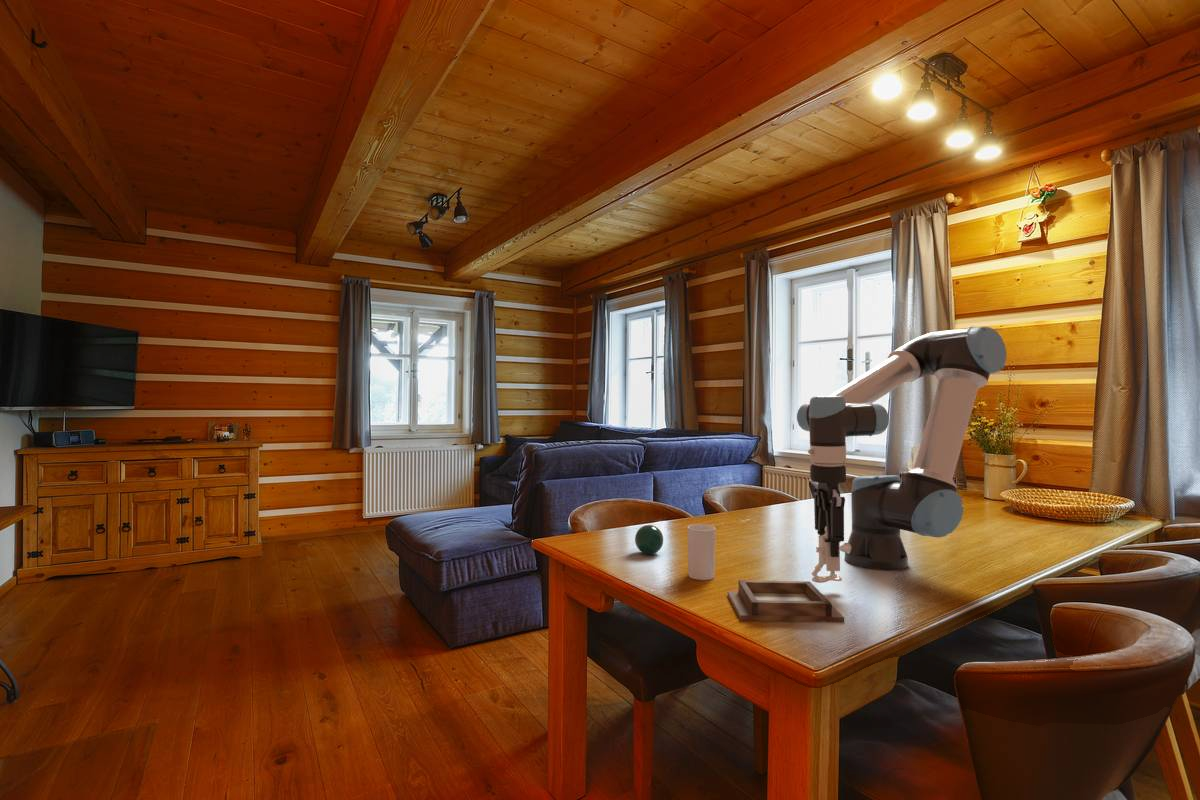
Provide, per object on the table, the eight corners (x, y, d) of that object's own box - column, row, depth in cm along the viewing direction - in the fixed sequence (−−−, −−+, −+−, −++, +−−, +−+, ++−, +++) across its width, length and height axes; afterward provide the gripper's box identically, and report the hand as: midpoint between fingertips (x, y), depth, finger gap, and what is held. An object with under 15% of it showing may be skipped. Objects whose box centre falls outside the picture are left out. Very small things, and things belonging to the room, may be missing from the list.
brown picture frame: (819, 597, 124) (819, 581, 124) (844, 622, 110) (844, 604, 110) (727, 595, 125) (727, 579, 125) (740, 620, 111) (740, 602, 111)
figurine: (806, 578, 129) (805, 526, 128) (836, 572, 132) (836, 521, 132) (821, 585, 124) (821, 531, 124) (853, 579, 128) (853, 526, 127)
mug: (717, 581, 135) (717, 530, 135) (688, 580, 136) (688, 530, 136) (711, 568, 145) (712, 521, 145) (685, 567, 146) (685, 521, 146)
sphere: (629, 554, 158) (629, 526, 158) (644, 548, 164) (644, 520, 164) (654, 559, 153) (654, 529, 153) (668, 552, 160) (668, 524, 160)
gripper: (799, 459, 137) (800, 556, 137) (824, 469, 120) (825, 579, 120) (830, 459, 136) (832, 556, 137) (860, 469, 119) (862, 579, 119)
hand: (829, 566), depth 128 cm, fingers closed on figurine, 4 cm apart
